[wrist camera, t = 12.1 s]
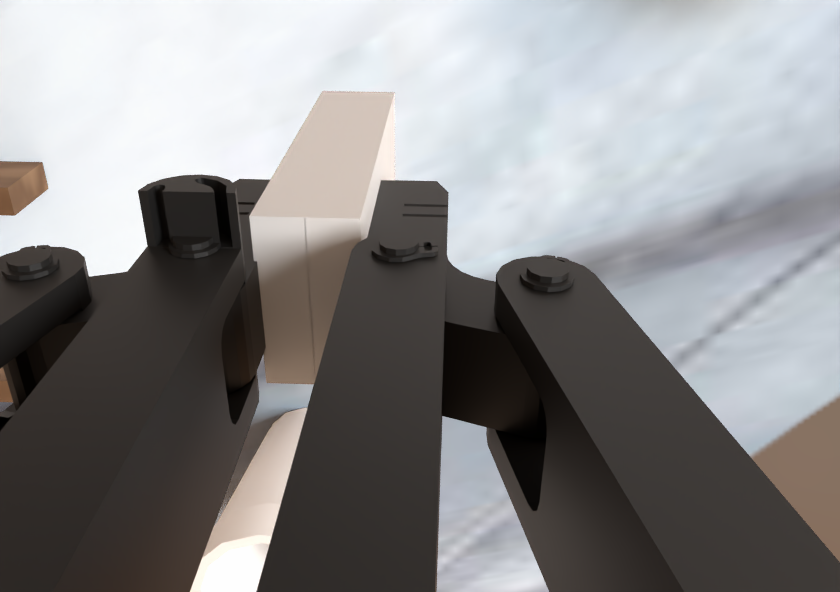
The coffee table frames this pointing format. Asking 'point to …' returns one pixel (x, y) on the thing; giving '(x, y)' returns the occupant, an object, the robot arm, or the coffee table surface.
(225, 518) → the foam cup
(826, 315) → the coffee table surface
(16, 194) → the bay
